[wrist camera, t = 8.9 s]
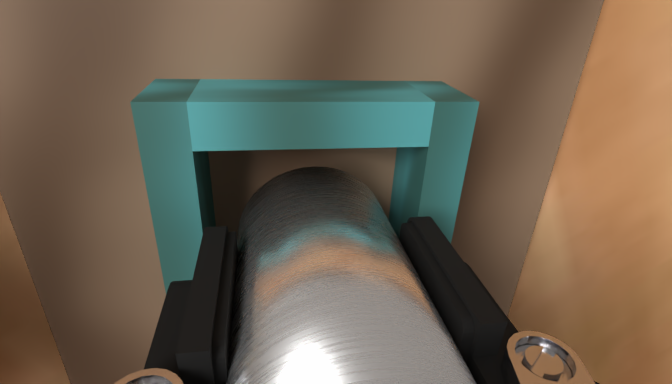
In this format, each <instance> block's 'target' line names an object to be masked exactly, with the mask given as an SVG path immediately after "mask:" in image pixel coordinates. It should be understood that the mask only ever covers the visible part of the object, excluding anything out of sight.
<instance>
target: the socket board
mask: <svg viewBox="0 0 672 384" xmlns="http://www.w3.org/2000/svg"><path fill="white" fill-rule="evenodd" d="M603 2H604V0H0V192H1V195H2V198H3V201H4V203H5V206H6V209H7V211H8V214H9V217H10V220H11V222H12V225H13V228H14V230H15V233H16V236H17V239H18V241H19V244H20V247H21V250H22V252H23V255H24V258H25V260H26V263H27V266H28V269H29V271H30V274H31V277H32V279H33V282H34V285H35V288H36V290H37V293H38V296H39V299H40V301H41V304H42V307H43V309H44V312H45V315H46V318H47V320H48V323H49V326H50V328H51V331H52V334H53V337H54V339H55V342H56V345H57V348H58V350H59V353H60V356H61V358H62V361H63V364H64V367H65V369H66V372H67V375H68V377H69V380H70V383H71V384H114V383H115V382H117V381H119V380H120V379H122V378H124V377H125V376H127V375H129V374H132V373H134V372H137V371H140V370H144V366H145V363H146V360H147V357H148V353H149V350H150V347H151V343H152V340H153V337H154V333H155V330H156V327H157V323H158V320H159V317H160V314H161V310H162V307H163V304H164V300H165V297H166V294H167V290H168V287H169V285H170V283H171V282H172V281H184V280H192V279H193V275H194V271H195V266H196V262H197V258H198V253H199V249H200V245H201V240H202V236H203V232H204V228H205V227H219V226H227V227H228V232H232V231H236V234H237V238H238V228H239V222H240V218H241V215H242V212H243V210H244V208H245V206H246V204H247V202H248V201H249V200H250V198H251V197H252V195H253V194H254V193H255V192H256V191H257V190H258V189H259V188H260V187H261V186H263V185H264V184H265V183H266V182H268V181H269V180H271V179H273V178H274V177H276V176H278V175H280V174H282V173H285V172H288V171H291V170H294V169H298V168H303V167H314V166H315V167H329V168H335V169H338V170H341V171H344V172H347V173H349V174H351V175H353V176H355V177H356V178H358V179H360V180H361V181H362V182H363V183H364V184H366V185H367V186H368V187H369V189H370V190H371V191H372V192H373V193H374V195H375V197H376V198H377V200H378V202H379V203H380V205H381V207H382V209H383V211H384V213H385V215H386V216H387V218H388V220H389V222H390V224H391V226H392V228H393V229H394V231H395V233H396V235H397V237H398V239H399V236H400V229H401V225H402V223H407V221H408V219H409V218H410V217H426V216H429V217H431V218H432V219H433V220H434V221H435V223H436V224H437V226H438V227H439V228H440V230H441V231H442V233H443V234H444V235H445V237H446V238H447V239H448V241H449V242H450V244H451V245H452V246H453V248H454V249H455V250H456V252H457V253H458V255H459V256H460V257H461V259H462V260H463V261H464V262H466V263H467V264H468V265H469V266H470V267H471V269H472V270H473V271H474V273H475V274H476V275H477V277H478V278H479V279H480V281H481V282H482V284H483V285H484V286H485V288H486V289H487V290H488V292H489V293H490V294H491V296H492V297H493V298H494V300H495V301H496V303H497V304H498V305H499V307H500V308H501V309H502V311H503V312H504V313H505V315H506V316H508V313H509V309H510V306H511V303H512V300H513V296H514V293H515V290H516V287H517V283H518V280H519V277H520V273H521V270H522V267H523V264H524V260H525V257H526V254H527V251H528V247H529V244H530V241H531V237H532V234H533V231H534V228H535V224H536V221H537V218H538V214H539V211H540V208H541V205H542V201H543V198H544V195H545V192H546V188H547V185H548V182H549V178H550V175H551V172H552V169H553V165H554V162H555V159H556V156H557V152H558V149H559V146H560V142H561V139H562V136H563V133H564V129H565V126H566V123H567V119H568V116H569V113H570V110H571V106H572V103H573V100H574V97H575V93H576V90H577V87H578V83H579V80H580V77H581V74H582V70H583V67H584V64H585V60H586V57H587V54H588V51H589V47H590V44H591V41H592V38H593V34H594V31H595V28H596V24H597V21H598V18H599V15H600V11H601V8H602V5H603Z"/></svg>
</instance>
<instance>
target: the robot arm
mask: <svg viewBox="0 0 672 384" xmlns="http://www.w3.org/2000/svg"><path fill="white" fill-rule="evenodd" d="M399 241H400V242H401V244H402V246H403V248H404V250H405V252H406V254H407V255H408V257H409V259H410V261H411V263H412V265H413V267H414V268H415V270H416V272H417V274H418V276H419V278H420V280H421V281H422V283H423V285H424V287H425V289H426V291H427V292H428V294H429V296H430V298H431V300H432V302H433V304H434V305H435V307H436V309H437V311H438V313H439V315H440V317H441V318H442V320H443V322H444V324H445V326H446V328H447V330H448V331H449V333H450V335H451V337H452V339H453V341H454V343H455V344H456V346H457V348H458V350H459V352H460V354H461V356H462V357H463V359H464V361H465V363H466V365H467V367H468V369H469V370H470V372H471V374H472V376H473V378H474V380H475V382H476V383H477V384H599V383H597V382H595V381H593V379H592V377H591V376H590V374H589V372H588V371H587V369H586V367H585V366H584V364H583V362H582V360H581V359H580V358H579V357H578V355H577V354H576V353H575V351H574V350H572V349H571V348H570V347H569V346H568V345H566V344H565V343H564V342H562V341H560V340H559V339H557V338H555V337H553V336H550V335H548V334H545V333H542V332H537V331H520V332H518V331H517V330H516V328H515V327H514V326H513V324H512V323H511V322H510V320H509V319H508V317H507V316H506V315H505V313H504V312H503V311H502V309H501V308H500V307H499V305H498V304H497V303H496V301H495V300H494V298H493V297H492V296H491V294H490V293H489V292H488V290H487V289H486V288H485V286H484V285H483V284H482V282H481V281H480V279H479V278H478V277H477V275H476V274H475V273H474V271H473V270H472V269H471V267H470V266H469V265H468V264H467V263H466V262H464V261H463V260H462V259H461V257H460V256H459V255H458V253H457V252H456V250H455V249H454V248H453V246H452V245H451V244H450V242H449V241H448V239H447V238H446V237H445V235H444V234H443V233H442V231H441V230H440V228H439V227H438V226H437V224H436V223H435V221H434V220H433V219H432V218H431V217H429V216H426V217H410V218H409V219H408V221H407V223H402V225H401V229H400V236H399ZM237 258H238V245H237V234H236V231H232V232H228V227H227V226H219V227H205V228H204V232H203V236H202V240H201V245H200V249H199V253H198V258H197V262H196V266H195V271H194V275H193V279H192V280H184V281H172V282H171V283H170V285H169V287H168V290H167V294H166V297H165V300H164V304H163V307H162V310H161V314H160V317H159V320H158V323H157V327H156V330H155V333H154V337H153V340H152V343H151V347H150V350H149V353H148V357H147V360H146V363H145V366H144V370H140V371H137V372H134V373H132V374H129V375H127V376H125V377H124V378H122V379H120V380H119V381H117V382H115V383H114V384H226V382H227V378H228V366H229V354H230V342H231V330H232V318H233V306H234V294H235V282H236V270H237Z"/></svg>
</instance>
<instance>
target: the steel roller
mask: <svg viewBox="0 0 672 384" xmlns="http://www.w3.org/2000/svg"><path fill="white" fill-rule="evenodd" d="M237 245H238V258H237V270H236V282H235V294H234V306H233V318H232V330H231V342H230V354H229V366H228V378H227V382H226V384H477V383H476V382H475V380H474V378H473V376H472V374H471V372H470V370H469V369H468V367H467V365H466V363H465V361H464V359H463V357H462V356H461V354H460V352H459V350H458V348H457V346H456V344H455V343H454V341H453V339H452V337H451V335H450V333H449V331H448V330H447V328H446V326H445V324H444V322H443V320H442V318H441V317H440V315H439V313H438V311H437V309H436V307H435V305H434V304H433V302H432V300H431V298H430V296H429V294H428V292H427V291H426V289H425V287H424V285H423V283H422V281H421V280H420V278H419V276H418V274H417V272H416V270H415V268H414V267H413V265H412V263H411V261H410V259H409V257H408V255H407V254H406V252H405V250H404V248H403V246H402V244H401V242H400V241H399V239H398V237H397V235H396V233H395V231H394V229H393V228H392V226H391V224H390V222H389V220H388V218H387V216H386V215H385V213H384V211H383V209H382V207H381V205H380V203H379V202H378V200H377V198H376V197H375V195H374V193H373V192H372V191H371V190H370V189H369V187H368V186H367V185H366V184H364V183H363V182H362V181H361V180H360V179H358V178H356V177H355V176H353V175H351V174H349V173H347V172H344V171H341V170H338V169H335V168H329V167H315V166H314V167H303V168H298V169H294V170H291V171H288V172H285V173H282V174H280V175H278V176H276V177H274V178H273V179H271V180H269V181H268V182H266V183H265V184H264V185H263V186H261V187H260V188H259V189H258V190H257V191H256V192H255V193H254V194H253V195H252V197H251V198H250V200H249V201H248V202H247V204H246V206H245V208H244V210H243V212H242V215H241V218H240V222H239V228H238V238H237Z"/></svg>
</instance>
